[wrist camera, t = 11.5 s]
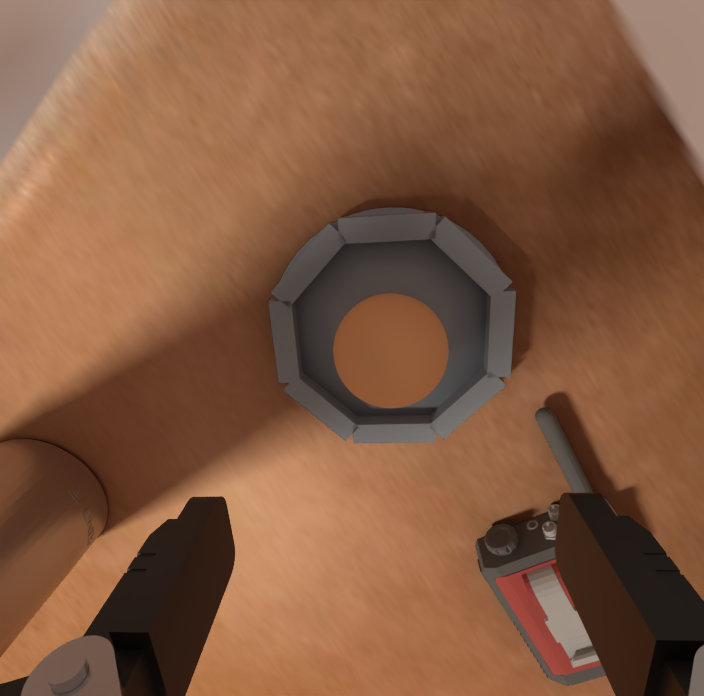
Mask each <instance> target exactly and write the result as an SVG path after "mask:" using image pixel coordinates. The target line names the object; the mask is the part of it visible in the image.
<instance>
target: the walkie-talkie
mask: <svg viewBox="0 0 704 696" xmlns="http://www.w3.org/2000/svg"><path fill="white" fill-rule="evenodd" d="M535 418H536V421H537V423H538V425H539V427H540V428H541V430H542V432H543V434H544V436H545V438H546V440H547V442H548V444H549V446H550V448H551V450H552V452H553V454H554V456H555V458H556V460H557V462H558V464H559V466H560V468H561V470H562V472H563V473H564V475H565V477H566V479H567V481H568V483H569V485H570V487H571V489H572V491H573V493H595V492H593V490H592V488H591V486H590V484H589V482H588V480H587V478H586V476H585V474H584V472H583V470H582V468H581V466H580V464H579V462H578V460H577V458H576V456H575V454H574V452H573V450H572V448H571V446H570V444H569V442H568V440H567V438H566V436H565V434H564V432H563V430H562V428H561V426H560V424H559V422H558V420H557V418H556V416H555V414H554V412H553V411H552V410H551V409H549V408H541V409H539V410H538V411H537V412H536V414H535ZM603 498H604V497H603ZM604 499H605V500H606V502H607V503H608V505H609V506H610V508H611V509H612V510H613V512H614V513H615V515H616V516H618V515H617V514H616V512H615V511H614V509H613V508H612V507H611V505H610V504H609V502H608V501H607V499H606V498H604ZM558 513H559V505H558V504H552V505H550V506H549V508H548V512H547V513H545V514H542V515H539V516H537V517H534V518H532V519H529V520H526V521H524V522H521V523H518V524H516V525H513V526H510V525H509V524H497V525H495V526H493V527H492V528H490V529H489V530H488V531H487V534H486V535H485V536H484V537H482V538H479V539H477V541H476V545H475V546H476V550H477V554H478V558H479V559H478V563H479V568H480V572H481V573H482V575H483V576H484V578H485V580H486V581H487V582H488V584H489V586H490V587H491V589H492V590H493V592H494V594H495V596H496V597H497V599H498V600H499V602H500V603H501V605H502V606H503V608H504V609H505V611H506V613H507V614H508V616H509V617H510V619H511V621H513V623H514V625H515V626H516V627H517V630H518V632H520V634H521V636H522V637H523V638H524V641H525V642H526V643H527V646H528V648H530V650H531V652H532V653H533V655H534V657H535V658H536V659H537V662H538V663H539V664H540V667H541V668H542V669H543V671H544V673H545V674H546V676H547V678H549V679H551V680H554V681H556V682H558V683H560V684H563V685H566V686H569V685H574V684H578V683H581V682H585V681H589V680H592V679H596V678H599V677H603V676H606V673H605V671H604V669H603V667H602V665H601V663H600V660H599V658H598V656H597V654H596V652H595V649H594V647H593V645H592V643H591V641H590V639H589V636H588V634H587V632H586V630H585V628H584V626H583V623H582V621H581V619H580V617H579V615H578V612H577V610H576V608H575V606H574V604H573V602H572V599H571V597H570V595H569V593H568V591H567V588H566V586H565V584H564V582H563V580H562V578H561V575H560V573H559V570H558V567H557V562H556V557H555V539H556V530H557V521H558Z"/></svg>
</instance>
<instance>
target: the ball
mask: <svg viewBox="0 0 704 696" xmlns="http://www.w3.org/2000/svg"><path fill="white" fill-rule="evenodd" d="M448 354H449V348H448V340H447V335H446V332H445V329H444V327H443V325H442V323H441V321H440V320H439V318H438V317H437V316H436V314H435V313H434V312H433V311H432V310H431V309H430V308H429V307H428V306H426V305H425V304H424V303H422V302H420V301H419V300H417V299H415V298H412V297H410V296H406V295H403V294H396V293H387V294H379V295H375V296H372V297H370V298H367V299H365V300H363V301H361V302H360V303H358V304H357V305H356V306H354V307H353V308H352V309H351V310H350V311H349V312H348V313H347V314H346V316H345V317H344V318H343V320H342V322H341V323H340V325H339V327H338V329H337V332H336V335H335V340H334V347H333V355H334V362H335V366H336V369H337V372H338V374H339V377H340V378H341V380H342V382H343V383H344V385H345V386H346V387H347V388H348V390H349V391H350V392H352V393H353V394H354V395H355V396H356V397H358V398H359V399H361V400H362V401H364V402H366V403H369V404H371V405H374V406H377V407H383V408H400V407H405V406H408V405H411V404H414V403H416V402H418V401H420V400H421V399H423V398H425V397H426V396H427V395H428V394H430V393H431V392H432V391H433V390H434V388H435V387H436V386H437V384H438V383H439V382H440V380H441V378H442V377H443V375H444V372H445V369H446V366H447V362H448Z"/></svg>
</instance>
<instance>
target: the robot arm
mask: <svg viewBox="0 0 704 696" xmlns="http://www.w3.org/2000/svg"><path fill="white" fill-rule="evenodd" d="M107 515H108V506H107V501H106V496H105V494H104V492H103V489H102V487H101V485H100V483H99V482H98V480H97V479H96V478H95V476H94V475H93V473H92V472H91V471H90V470H89V469H88V468H87V467H86V466H85V465H84V464H83V463H82V462H81V461H79V460H78V459H77V458H75V457H74V456H73V455H71V454H70V453H68V452H66V451H64V450H62V449H60V448H58V447H57V446H54V445H51V444H48V443H45V442H42V441H37V440H30V439H12V440H8V441H4V442H0V657H1V656H2V655H3V653H4V652H5V651H6V650H7V648H8V647H9V646H10V645H11V644H12V642H13V641H14V640H15V639H16V637H17V636H18V635H19V634H20V632H21V631H22V630H23V629H24V627H25V626H26V625H27V624H28V623H29V621H30V620H31V619H32V618H33V616H34V615H35V614H36V613H37V611H38V610H39V609H40V608H41V607H42V605H43V604H44V603H45V602H46V600H47V599H48V598H49V597H50V595H51V594H52V593H53V592H54V591H55V589H56V588H57V587H58V586H59V584H60V583H61V582H62V581H63V580H64V578H65V577H66V576H67V575H68V573H69V572H70V571H71V570H72V568H73V567H74V566H75V565H76V563H77V562H78V561H79V560H80V558H81V557H82V556H83V555H84V553H85V552H86V551H87V550H88V548H89V547H90V546H91V545H92V544H93V542H94V541H95V540H96V539H97V537H98V536H99V535H100V533H101V532H102V531H103V529H104V527H105V524H106V522H107ZM137 554H138V555H137V557H135V558H134V560H133V561H132V563H131V564H130V566H129V567H128V569H127V573H124V575H123V576H122V578H121V579H120V581H119V582H118V584H117V585H116V587H115V589H114V590H113V592H112V593H111V595H110V596H109V598H108V599H107V601H106V602H105V604H104V605H103V607H102V608H101V610H100V611H99V613H98V614H97V616H96V617H95V619H94V621H93V622H92V624H91V625H90V627H89V628H88V630H87V631H86V633H85V634H84V635H83V637H80V638H77V639H74V640H72V641H69V642H67V643H65V644H63V645H62V646H60V647H58V648H57V649H55V650H54V651H52V652H51V653H50V654H49V655H48V656H46V657H45V658H44V659H43V660H42V661H41V662H40V663H39V664H38V665H37V666H36V668H35V669H34V670H33V671H32V673H31V674H30V675H29V676H27V677H24V678H20V679H17V680H13V681H10V682H7V683H3V684H0V696H185V695H186V692H187V689H188V687H189V684H190V682H191V679H192V676H193V674H194V671H195V668H196V666H197V663H198V661H199V658H200V655H201V653H202V650H203V647H204V645H205V642H206V640H207V637H208V634H209V632H210V629H211V626H212V624H213V621H214V619H215V616H216V613H217V611H218V608H219V605H220V603H221V600H222V598H223V595H224V592H225V590H226V587H227V585H228V582H229V579H230V577H231V574H232V571H233V566H234V560H235V546H234V540H233V535H232V530H231V524H230V519H229V514H228V509H227V504H226V501H225V499H224V498H223V497H192V498H190V499H189V501H188V502H187V504H186V505H185V507H184V509H183V510H182V512H181V514H180V515H179V517H178V519H168V520H167V521H166V522H164V523H163V524H162V525H161V526H160V527H159V528H157V529H156V530H155V531H154V532H153V533H151V534H150V535H149V537H148V538H147V540H146V541H145V543H144V544H143V546H142V547H141V549H140V550H139V552H138V553H137ZM555 557H556V562H557V567H558V570H559V573H560V575H561V578H562V580H563V582H564V584H565V586H566V588H567V591H568V593H569V595H570V597H571V599H572V602H573V604H574V606H575V608H576V610H577V612H578V615H579V617H580V619H581V621H582V623H583V626H584V628H585V630H586V632H587V634H588V636H589V639H590V641H591V643H592V645H593V647H594V649H595V652H596V654H597V656H598V658H599V660H600V663H601V665H602V667H603V669H604V671H605V673H606V676H607V678H608V680H609V682H610V684H611V686H612V689H613V691H614V693H615V695H616V696H704V601H703V600H702V599H701V597H700V596H699V595H698V594H697V592H696V591H695V590H694V588H693V587H692V586H691V584H690V583H689V582H688V581H687V579H686V578H685V577H684V575H681V574H680V572H679V569H678V568H677V566H676V565H675V564H674V562H673V561H672V560H671V559H670V557H667V556H666V552H665V551H664V550H663V548H662V547H661V546H660V544H659V543H658V542H657V540H656V539H655V538H654V537H653V535H652V534H651V533H650V532H649V531H647V530H646V529H645V528H643V527H642V526H641V525H639V524H638V523H637V522H635V521H634V520H633V519H631V518H630V517H629V516H616V515H615V513H614V512H613V510H612V509H611V508H610V506H609V505H608V503H607V502H606V500H605V499H604V498H603V496H602V495H601V494H599V493H563V494H562V495H561V498H560V504H559V513H558V521H557V530H556V539H555Z"/></svg>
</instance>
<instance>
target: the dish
mask: <svg viewBox="0 0 704 696" xmlns="http://www.w3.org/2000/svg"><path fill="white" fill-rule="evenodd" d="M511 283H512V281H511V280H510V279H509V278H508V277H507V276H506V275H505V274H504V273H503V272H502V271H501V269H500V267H499V265H498V264H497V262H496V261H495V259H494V258H493V256H492V255H491V254H490V253H489V251H488V250H487V249H486V248H485V247H484V246H483V245H482V243H481V242H479V241H478V240H477V239H476V238H475V237H474V236H472V235H471V234H470V233H469V232H468V231H466V230H465V229H463V228H461V227H460V226H458V225H457V224H455V223H453V222H452V221H450V220H449V219H448V218H447V217H446V216H444V215H442V217H441V216H439V215H436V213H435V212H434V211H431V212H426V211H423V210H419V209H412V208H405V207H383V208H375V209H369V210H365V211H361V212H357V213H354V214H351V215H349V216H346V217H339V218H338V220H337V221H335V222H334V223H332V222H330V223H328V224H327V226H326V227H325V228H324V229H322V230H321V231H320V232H319V233H317V234H316V235H315V236H314V237H312V238H311V239H310V240H309V241H308V242H307V243H306V244H305V245H304V246H303V247H302V248H301V249H300V250H299V251H298V252H297V254H296V255H295V256H294V258H293V259H292V261H291V262H290V263H289V265H288V267H287V268H286V270H285V272H284V274H283V276H282V278H281V280H280V282H279V283H278V284H277V286H276V287H275V288H274V289H273V290H272V291H271V294H273V295H274V296H275V297H272V298H271V299H270V300H269V301H268V306H269V314H270V321H271V329H272V338H273V344H274V352H275V360H276V367H277V375H278V383H286V385H285V387H284V389H283V391H284V392H285V393H287V394H288V395H289V396H290V397H292V398H293V399H294V400H295V401H297V402H298V403H299V404H300V405H302V406H303V407H304V408H305V409H307V410H308V411H309V412H310V413H311V414H313V415H314V416H315V417H316V418H318V419H319V420H320V421H321V422H323V423H324V424H325V425H326V426H328V427H329V428H330V429H331V430H333V431H334V432H335V433H336V434H338V435H339V436H340V437H341V438H343V439H344V440H345V441H346V440H347V439H348V438H349V437H350V436H351V435H352V434H353V442H354V443H426V442H435V433H436V434H438V435H439V436H440V437H441V438H442V439H444V438H446V437H447V436H448V435H449V434H450V433H451V432H452V431H454V430H455V429H456V428H457V427H458V426H459V425H461V424H462V423H463V422H464V421H465V420H466V419H468V418H469V417H470V416H471V415H472V414H473V413H475V412H476V411H477V410H478V409H479V408H480V407H482V406H483V405H484V404H485V403H486V402H487V401H488V400H490V399H491V398H492V397H493V396H494V395H495V394H497V393H498V392H499V391H500V390H501V389H502V388H504V387H505V386H506V384H505V382H504V380H503V378H502V377H511V363H512V348H513V334H514V317H515V302H516V290H514V289H513V288H512V287H508V286H509V285H510V284H511ZM387 293H396V294H403V295H406V296H410V297H412V298H415V299H417V300H419V301H420V302H422V303H424V304H425V305H426V306H428V307H429V308H430V309H431V310H432V311H433V312H434V313H435V314H436V316H437V317H438V318H439V320H440V321H441V323H442V325H443V327H444V329H445V332H446V335H447V340H448V348H449V354H448V362H447V366H446V369H445V372H444V375H443V377H442V378H441V380H440V382H439V383H438V384H437V386H436V387H435V388H434V390H433V391H432V392H431V393H430V394H428V395H427V396H426V397H425V398H423V399H421V400H420V401H418V402H416V403H414V404H411V405H408V406H405V407H400V408H383V407H377V406H374V405H371V404H369V403H366V402H364V401H362V400H361V399H359V398H358V397H356V396H355V395H354V394H353V393H352V392H350V391H349V390H348V388H347V387H346V386H345V385H344V383H343V382H342V380H341V378H340V377H339V374H338V372H337V369H336V366H335V362H334V355H333V347H334V340H335V335H336V332H337V329H338V327H339V325H340V323H341V322H342V320H343V318H344V317H345V316H346V314H347V313H348V312H349V311H350V310H351V309H352V308H353V307H354V306H356V305H357V304H358V303H360V302H361V301H363V300H365V299H367V298H370V297H372V296H375V295H379V294H387Z"/></svg>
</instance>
